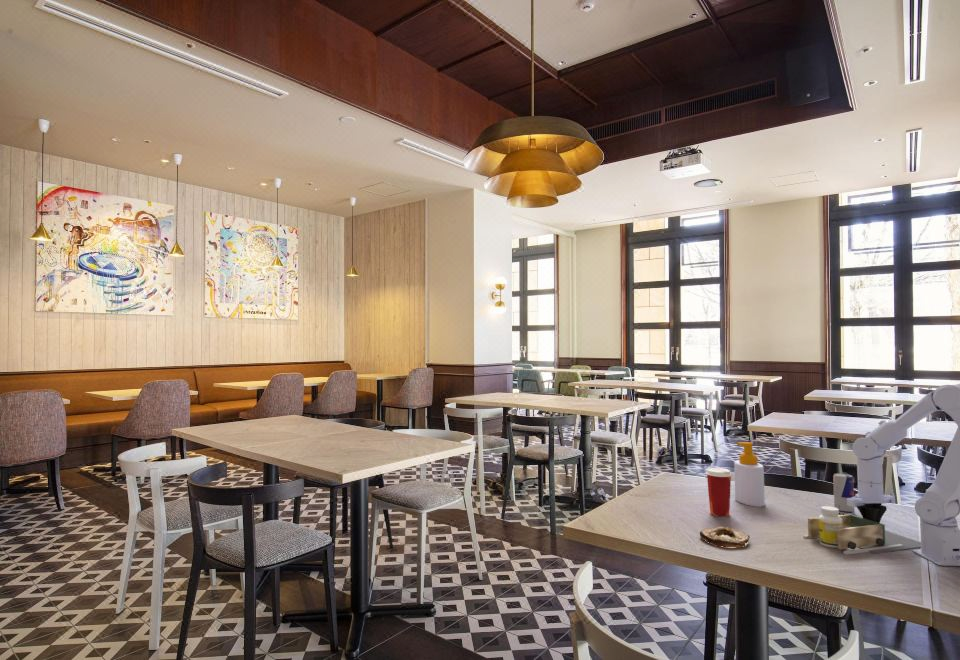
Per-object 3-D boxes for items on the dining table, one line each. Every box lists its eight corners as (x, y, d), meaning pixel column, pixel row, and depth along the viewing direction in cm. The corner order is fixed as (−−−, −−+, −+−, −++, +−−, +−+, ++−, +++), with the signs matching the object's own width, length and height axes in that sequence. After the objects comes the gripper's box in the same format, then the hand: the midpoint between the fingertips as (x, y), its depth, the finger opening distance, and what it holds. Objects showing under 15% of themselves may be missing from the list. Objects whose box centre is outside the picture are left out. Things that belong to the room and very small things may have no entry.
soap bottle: (729, 496, 194) (727, 439, 195) (752, 496, 193) (751, 439, 194) (746, 507, 181) (744, 446, 181) (771, 507, 180) (769, 446, 181)
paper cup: (738, 515, 171) (737, 471, 172) (719, 518, 168) (718, 473, 169) (719, 509, 179) (718, 466, 179) (701, 512, 176) (700, 468, 176)
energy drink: (857, 515, 170) (856, 477, 171) (838, 514, 172) (837, 476, 172) (849, 510, 176) (848, 473, 176) (831, 510, 177) (830, 473, 177)
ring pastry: (684, 535, 155) (684, 520, 155) (729, 531, 158) (729, 517, 158) (718, 554, 140) (718, 537, 141) (767, 549, 144) (766, 533, 144)
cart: (847, 530, 154) (846, 512, 155) (889, 545, 142) (889, 526, 143) (804, 535, 151) (804, 517, 151) (844, 551, 139) (844, 531, 139)
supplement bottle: (821, 540, 149) (819, 504, 150) (844, 544, 146) (843, 507, 146) (818, 545, 145) (816, 508, 145) (842, 550, 142) (840, 512, 142)
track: (873, 527, 159) (873, 525, 159) (930, 546, 144) (930, 544, 144) (799, 536, 152) (799, 533, 152) (851, 556, 137) (851, 554, 137)
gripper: (877, 476, 155) (878, 524, 155) (836, 479, 152) (837, 528, 151) (901, 482, 148) (903, 532, 148) (859, 485, 145) (861, 537, 144)
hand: (871, 531), depth 149 cm, fingers closed
